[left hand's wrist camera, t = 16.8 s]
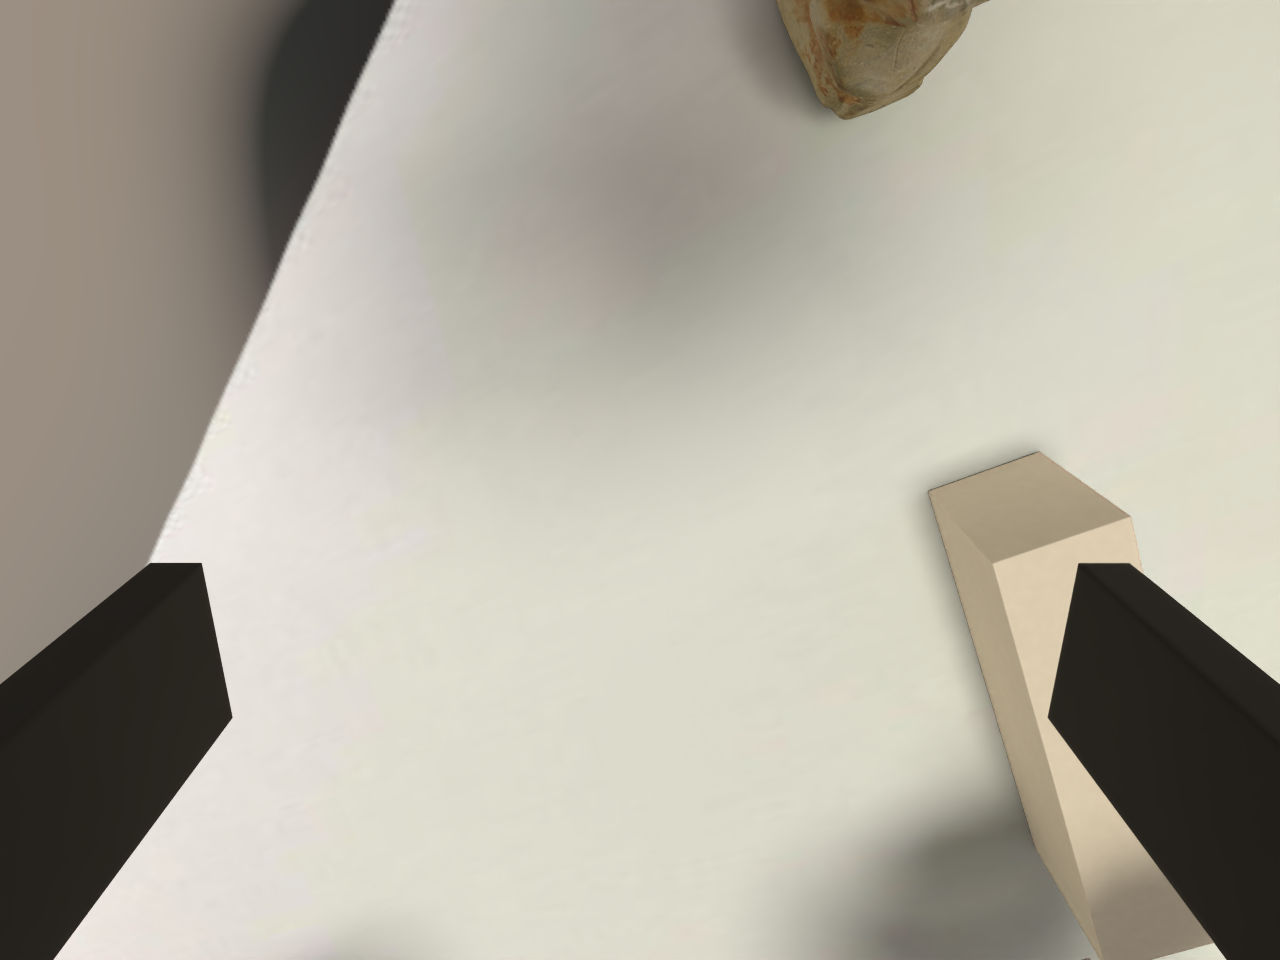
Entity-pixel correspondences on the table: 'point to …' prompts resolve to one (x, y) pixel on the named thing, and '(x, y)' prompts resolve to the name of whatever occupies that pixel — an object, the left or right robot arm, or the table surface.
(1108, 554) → the bar
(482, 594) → the table surface
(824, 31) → the sculpture
